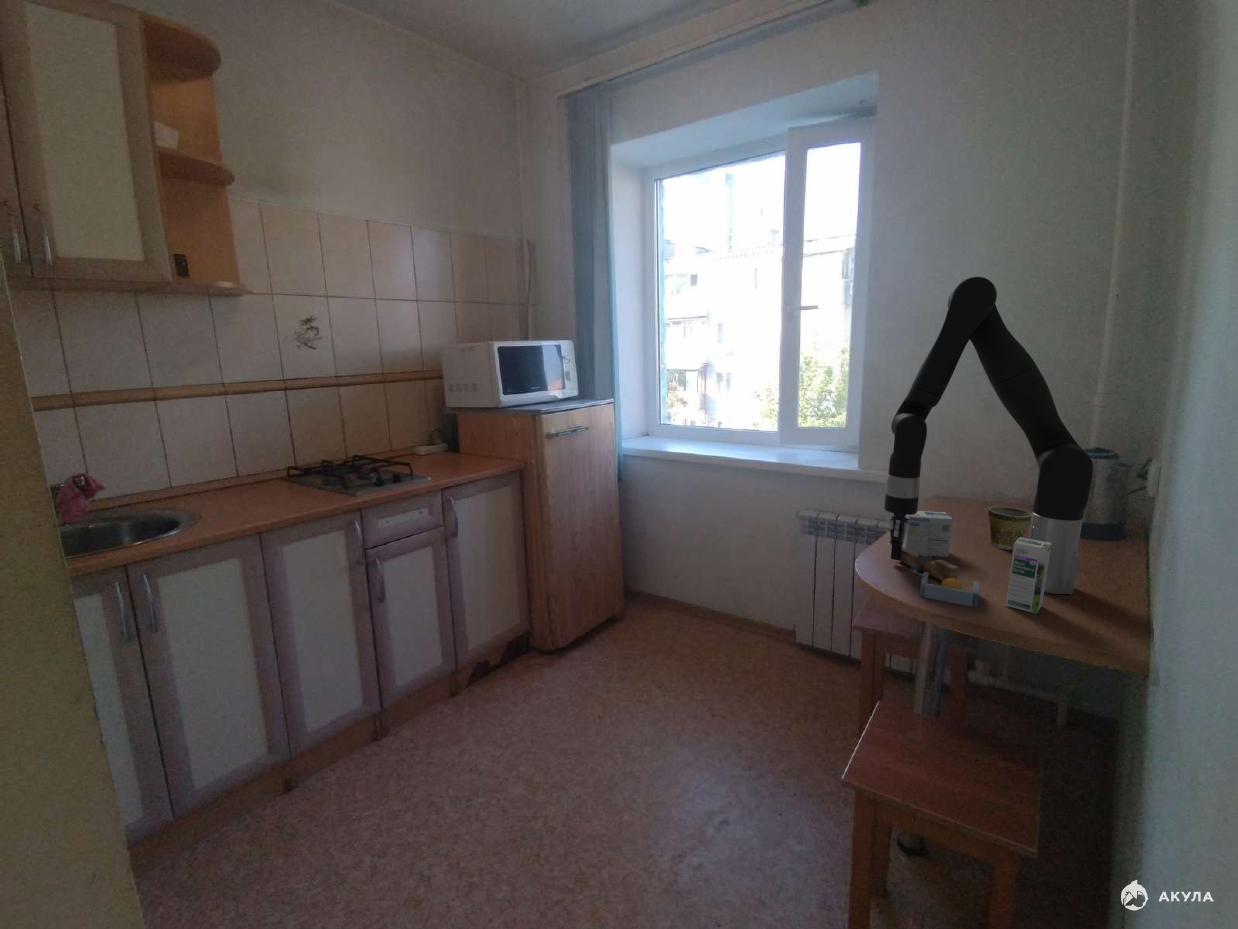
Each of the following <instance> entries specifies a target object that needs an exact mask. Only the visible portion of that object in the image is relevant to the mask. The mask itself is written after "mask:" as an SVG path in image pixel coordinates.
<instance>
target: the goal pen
mask: <svg viewBox="0 0 1238 929" xmlns="http://www.w3.org/2000/svg"><path fill="white" fill-rule="evenodd" d="M928 574H929V573H927V572H924V573H923V576H921V580H920V586H919V587H920V589H919V597H921V598H925V599H926V598H927V599H929V600H936V601H940V602H944V603H952V604H955V605H961V606H967V607H972V608H976V609H977V608H978V604H979V596H980V581H977V580H973V584H972V591H970V590H965V589H962V590H960V589H955V588H949V587H944V586H941V585H936V584H932V583H928V581H929V577H928Z"/></svg>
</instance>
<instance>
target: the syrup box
mask: <svg viewBox="0 0 1238 929" xmlns="http://www.w3.org/2000/svg"><path fill="white" fill-rule="evenodd" d="M1050 550H1051V543H1049V542H1042V541H1037V540H1032V539H1028V537H1027V538H1025V537H1024V536H1023V537H1020V538H1019V539H1018V540H1017V541H1016V542H1015V543H1014V548H1013V550H1012V555H1011V564H1010V573H1009V579H1008V588H1007V593H1006V598H1005V607H1007V608H1014V609H1017V610H1020V611H1024V612H1028V613H1031V614H1034V615H1037V614H1038V613H1039V611H1040V609H1041V607H1042V606H1043V601H1044V594H1045V592H1044V589H1045V583H1046V576H1047V570H1048V563H1049V556H1050Z"/></svg>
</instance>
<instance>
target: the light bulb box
mask: <svg viewBox="0 0 1238 929" xmlns="http://www.w3.org/2000/svg"><path fill="white" fill-rule="evenodd" d="M906 518H909V522H908V525H907V531H906V535H905V538H904V540H903V541H904V543H903V545H902V547H904V548H907V549H909V550H911V551H913V552H916V553H918V554H919V553H926V554H929V555H931V556H932V557H939V558H940V557H941V558H948V557H949V555H950V543H951V535H952V527H953V526H952V523H953V518H952V516H950V515H949V514H948V513H947V512H945V511H925V510H917V513H915V514H913V515H906Z"/></svg>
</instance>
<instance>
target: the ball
mask: <svg viewBox="0 0 1238 929" xmlns="http://www.w3.org/2000/svg"><path fill="white" fill-rule="evenodd" d="M940 584H941V585H940V586H944V587H949V588H955V589H960V590H963V589H962V584H961V582H960V581H959V580H958V579H957V580H956V579H954V578H947V579H945V580H944V581H941V583H940Z"/></svg>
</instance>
